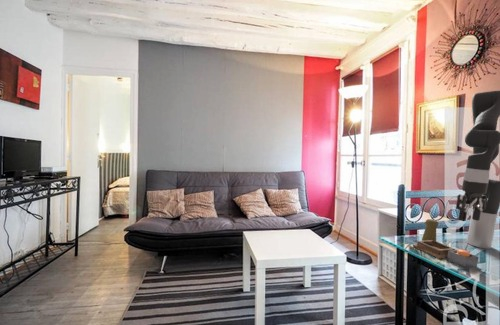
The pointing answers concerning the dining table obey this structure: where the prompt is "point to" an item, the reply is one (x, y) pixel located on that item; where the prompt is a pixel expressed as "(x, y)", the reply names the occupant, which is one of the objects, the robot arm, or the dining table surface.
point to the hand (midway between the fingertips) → (468, 220)
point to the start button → (463, 252)
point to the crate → (433, 248)
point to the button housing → (462, 259)
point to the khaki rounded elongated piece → (430, 230)
